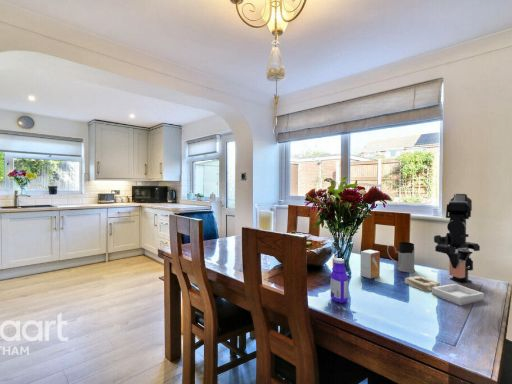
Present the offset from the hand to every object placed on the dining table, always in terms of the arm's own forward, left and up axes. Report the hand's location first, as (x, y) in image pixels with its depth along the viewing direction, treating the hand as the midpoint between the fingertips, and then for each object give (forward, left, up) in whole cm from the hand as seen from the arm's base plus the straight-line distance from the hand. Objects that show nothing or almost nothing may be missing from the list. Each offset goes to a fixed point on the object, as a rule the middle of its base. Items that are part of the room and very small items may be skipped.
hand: (457, 267), depth 117 cm
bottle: (+49, -14, -13) cm, 53 cm away
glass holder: (-9, -38, -13) cm, 41 cm away
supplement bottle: (+28, -45, -13) cm, 54 cm away
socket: (+2, -15, -13) cm, 20 cm away
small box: (+15, -35, -13) cm, 40 cm away
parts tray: (0, 0, -13) cm, 13 cm away
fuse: (0, 0, -4) cm, 4 cm away
